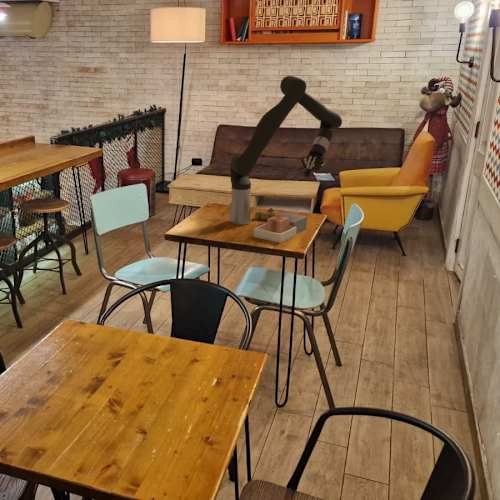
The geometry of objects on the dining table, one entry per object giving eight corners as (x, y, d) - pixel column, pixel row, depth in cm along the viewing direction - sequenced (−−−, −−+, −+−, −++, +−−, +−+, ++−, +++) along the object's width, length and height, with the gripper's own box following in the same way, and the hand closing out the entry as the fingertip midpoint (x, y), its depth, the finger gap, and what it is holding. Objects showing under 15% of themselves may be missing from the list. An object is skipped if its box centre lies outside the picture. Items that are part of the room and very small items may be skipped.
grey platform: (271, 230, 224) (272, 217, 221) (284, 224, 233) (284, 212, 231) (294, 235, 217) (294, 222, 215) (306, 228, 227) (307, 216, 225)
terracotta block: (276, 229, 221) (266, 233, 215) (276, 215, 219) (267, 218, 212) (289, 232, 217) (280, 236, 211) (289, 217, 215) (280, 221, 209)
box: (253, 237, 213) (253, 228, 212) (269, 229, 224) (270, 221, 223) (280, 243, 206) (281, 234, 204) (296, 235, 217) (296, 227, 216)
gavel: (263, 204, 257) (281, 205, 255) (262, 212, 258) (281, 214, 256) (255, 211, 237) (274, 213, 235) (254, 220, 238) (274, 222, 236)
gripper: (305, 142, 235) (291, 170, 230) (329, 144, 228) (316, 173, 223) (309, 151, 241) (296, 179, 236) (333, 154, 234) (320, 183, 229)
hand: (306, 176), depth 229 cm, fingers closed
